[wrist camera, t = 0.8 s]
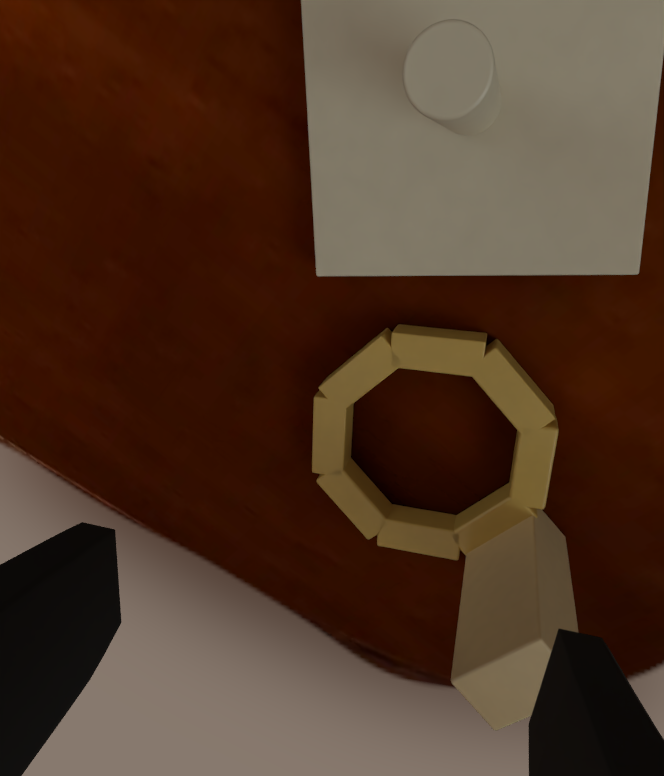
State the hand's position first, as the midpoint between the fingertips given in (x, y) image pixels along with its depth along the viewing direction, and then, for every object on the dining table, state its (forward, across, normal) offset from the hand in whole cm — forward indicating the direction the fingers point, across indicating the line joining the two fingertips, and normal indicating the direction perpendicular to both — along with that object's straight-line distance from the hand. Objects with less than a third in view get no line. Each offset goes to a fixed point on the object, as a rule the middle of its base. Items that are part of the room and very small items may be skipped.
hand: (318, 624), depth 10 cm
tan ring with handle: (+9, -1, +1) cm, 9 cm away
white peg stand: (+10, -1, -8) cm, 13 cm away
